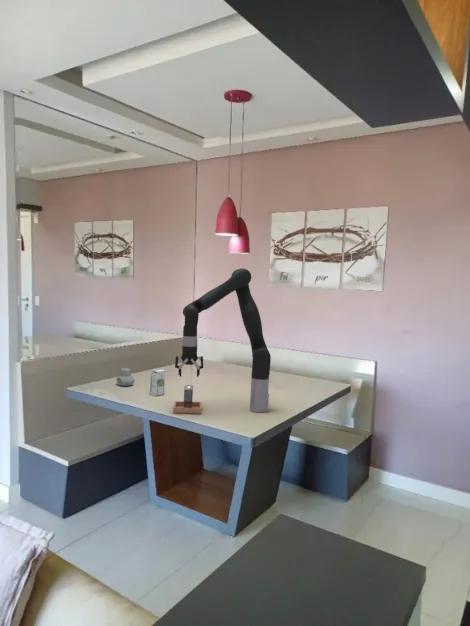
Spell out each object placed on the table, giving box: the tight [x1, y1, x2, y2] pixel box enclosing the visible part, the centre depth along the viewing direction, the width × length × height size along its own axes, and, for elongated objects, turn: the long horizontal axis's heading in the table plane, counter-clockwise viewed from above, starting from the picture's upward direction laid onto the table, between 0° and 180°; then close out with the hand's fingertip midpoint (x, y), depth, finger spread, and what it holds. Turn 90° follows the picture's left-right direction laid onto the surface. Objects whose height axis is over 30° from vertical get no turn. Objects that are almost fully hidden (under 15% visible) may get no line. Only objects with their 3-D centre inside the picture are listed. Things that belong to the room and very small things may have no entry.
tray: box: [172, 400, 203, 415], centre depth 238 cm, size 14×12×3 cm
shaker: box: [183, 384, 194, 408], centre depth 238 cm, size 5×5×12 cm
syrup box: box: [149, 368, 166, 397], centre depth 265 cm, size 6×6×14 cm
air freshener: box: [116, 367, 135, 387], centre depth 284 cm, size 11×8×10 cm
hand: (189, 376), depth 237 cm, fingers open, 8 cm apart
